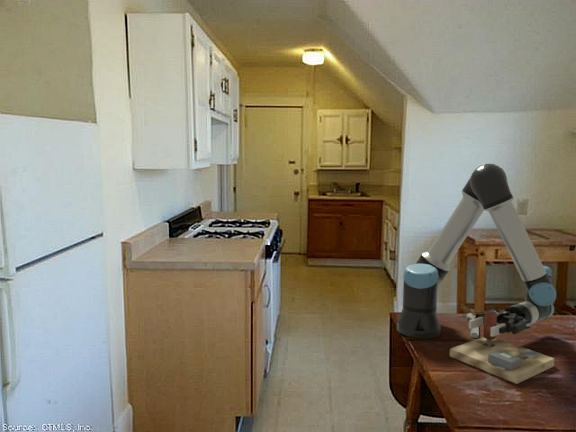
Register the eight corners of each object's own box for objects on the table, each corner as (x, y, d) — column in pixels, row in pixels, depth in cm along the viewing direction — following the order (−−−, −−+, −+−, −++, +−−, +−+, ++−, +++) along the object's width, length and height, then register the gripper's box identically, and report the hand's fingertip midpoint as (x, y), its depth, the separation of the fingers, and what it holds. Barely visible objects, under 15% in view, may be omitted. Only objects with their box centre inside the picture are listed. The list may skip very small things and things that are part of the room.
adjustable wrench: (478, 340, 164) (478, 335, 164) (459, 337, 167) (459, 332, 167) (485, 318, 186) (485, 313, 186) (467, 315, 189) (467, 311, 189)
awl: (480, 351, 153) (482, 312, 151) (486, 349, 155) (488, 310, 153) (490, 355, 150) (492, 315, 148) (496, 353, 152) (499, 313, 150)
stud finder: (488, 361, 139) (488, 353, 139) (497, 357, 142) (498, 349, 142) (510, 370, 134) (511, 362, 133) (520, 366, 136) (521, 358, 136)
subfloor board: (449, 356, 149) (449, 348, 149) (487, 342, 160) (487, 335, 160) (516, 383, 131) (517, 374, 131) (553, 366, 142) (554, 358, 142)
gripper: (549, 334, 154) (509, 350, 141) (493, 317, 170) (453, 330, 157) (551, 312, 153) (511, 326, 140) (495, 297, 169) (454, 308, 156)
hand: (480, 328), depth 149 cm, fingers open, 7 cm apart
